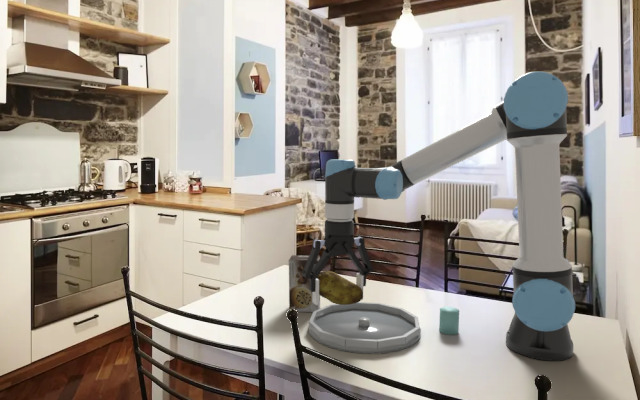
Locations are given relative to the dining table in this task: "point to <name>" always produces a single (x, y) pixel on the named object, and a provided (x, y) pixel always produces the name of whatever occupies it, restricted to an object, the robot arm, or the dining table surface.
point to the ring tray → (364, 328)
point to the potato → (338, 289)
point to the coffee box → (300, 285)
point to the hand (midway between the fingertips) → (337, 300)
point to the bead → (449, 320)
